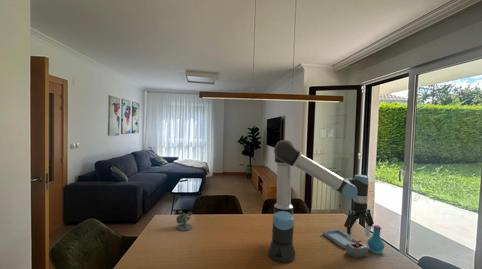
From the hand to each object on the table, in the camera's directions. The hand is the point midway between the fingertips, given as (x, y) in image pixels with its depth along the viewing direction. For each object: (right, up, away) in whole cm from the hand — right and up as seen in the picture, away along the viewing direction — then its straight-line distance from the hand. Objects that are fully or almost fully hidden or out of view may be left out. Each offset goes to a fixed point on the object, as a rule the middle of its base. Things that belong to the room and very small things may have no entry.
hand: (358, 237), depth 141 cm
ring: (-1, -10, 0) cm, 10 cm away
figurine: (-108, -5, +26) cm, 111 cm away
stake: (-1, -10, 0) cm, 10 cm away
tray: (-3, -9, +18) cm, 20 cm away
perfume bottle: (+13, -11, +6) cm, 18 cm away
